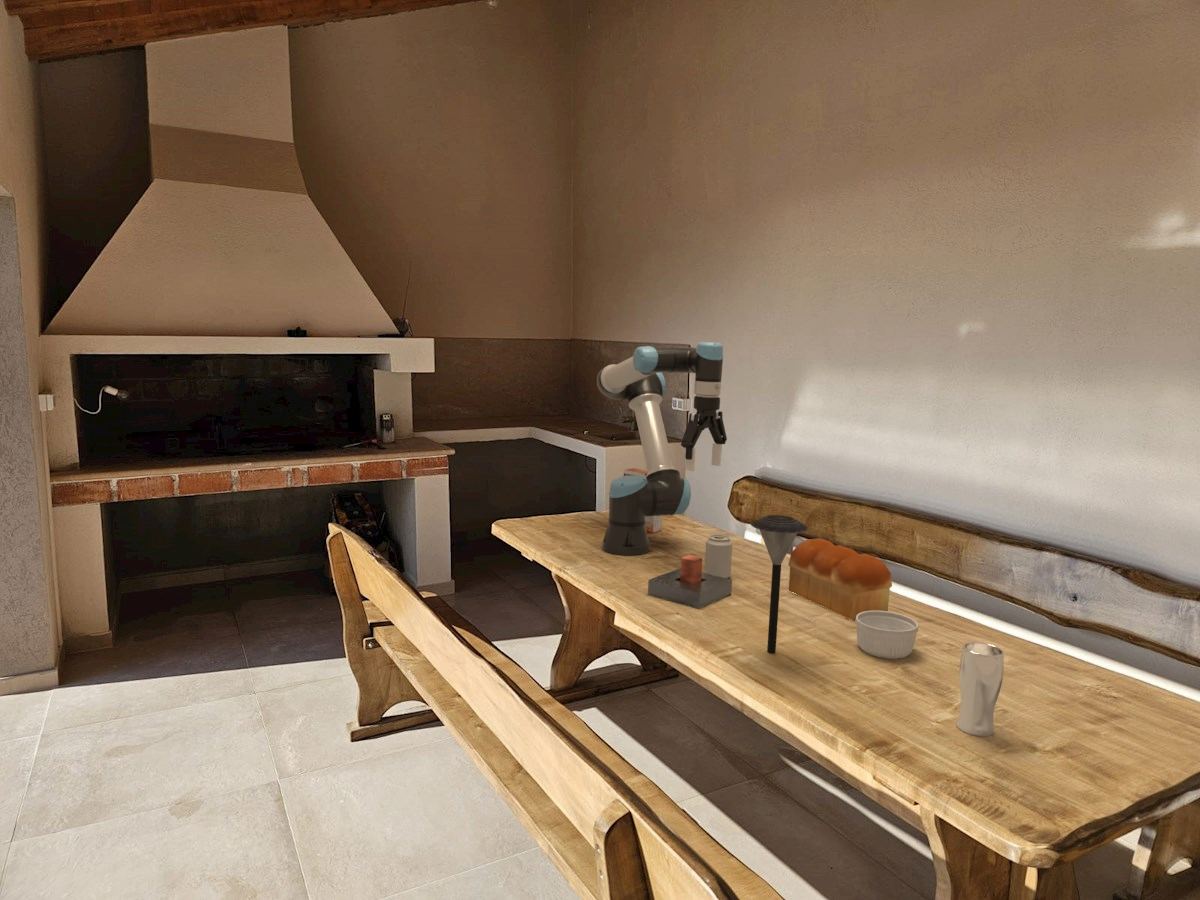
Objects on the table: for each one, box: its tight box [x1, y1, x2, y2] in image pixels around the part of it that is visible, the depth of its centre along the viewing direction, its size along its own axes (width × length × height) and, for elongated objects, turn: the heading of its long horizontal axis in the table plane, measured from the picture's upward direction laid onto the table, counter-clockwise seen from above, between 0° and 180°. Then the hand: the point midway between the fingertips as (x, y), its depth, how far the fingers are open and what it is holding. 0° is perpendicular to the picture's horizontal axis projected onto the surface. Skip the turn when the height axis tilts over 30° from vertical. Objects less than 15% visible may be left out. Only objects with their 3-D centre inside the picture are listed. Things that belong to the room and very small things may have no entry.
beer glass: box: [956, 641, 1005, 738], centre depth 144 cm, size 7×7×15 cm
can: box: [703, 533, 733, 579], centre depth 231 cm, size 8×8×12 cm
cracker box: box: [623, 467, 663, 534], centre depth 286 cm, size 14×6×21 cm, turn 50°
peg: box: [680, 554, 703, 585], centre depth 215 cm, size 4×4×10 cm
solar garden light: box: [750, 514, 809, 654], centre depth 176 cm, size 12×12×30 cm
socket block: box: [647, 567, 733, 609], centre depth 215 cm, size 16×16×4 cm
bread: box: [787, 537, 893, 621], centre depth 212 cm, size 25×12×15 cm, turn 27°
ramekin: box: [854, 610, 919, 660], centre depth 181 cm, size 13×13×7 cm
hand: (703, 468), depth 238 cm, fingers open, 13 cm apart
